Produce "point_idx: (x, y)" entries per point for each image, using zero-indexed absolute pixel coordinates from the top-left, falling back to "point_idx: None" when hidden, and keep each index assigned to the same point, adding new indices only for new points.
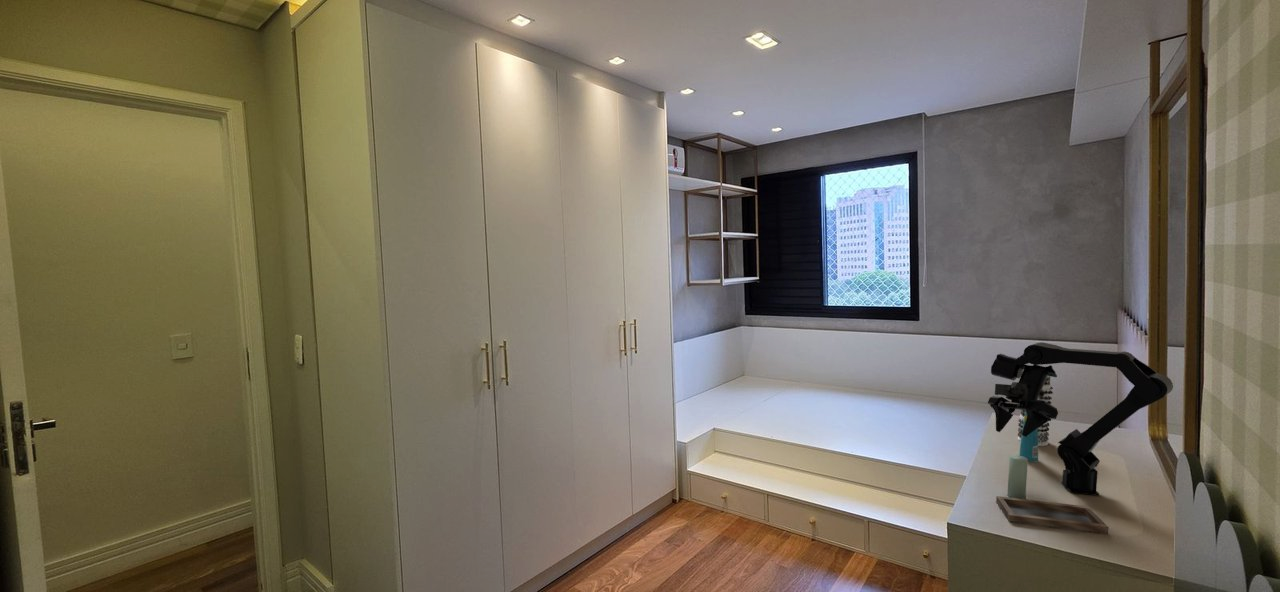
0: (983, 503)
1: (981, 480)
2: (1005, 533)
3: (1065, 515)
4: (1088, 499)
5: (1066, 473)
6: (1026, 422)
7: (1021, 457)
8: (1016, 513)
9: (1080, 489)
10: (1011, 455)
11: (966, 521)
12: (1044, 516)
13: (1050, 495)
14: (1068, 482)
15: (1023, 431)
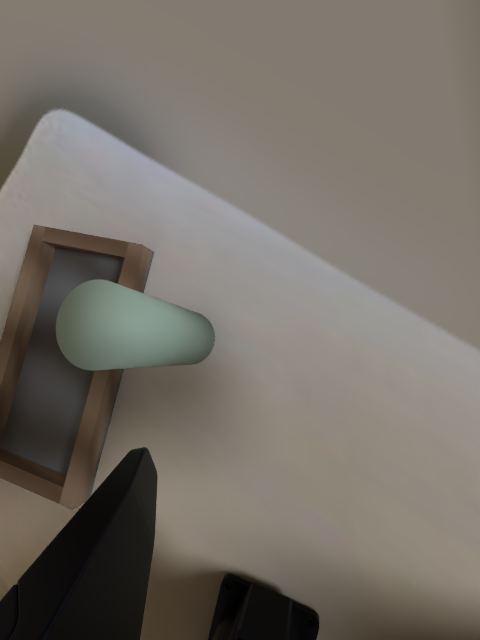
0: (149, 211)
1: (327, 285)
2: (6, 197)
3: (69, 411)
4: (179, 594)
5: (243, 632)
6: (45, 595)
7: (99, 345)
8: (83, 272)
9: (220, 620)
10: (130, 304)
11: (57, 127)
12: None
13: (207, 472)
14: (243, 604)
15: (119, 472)
